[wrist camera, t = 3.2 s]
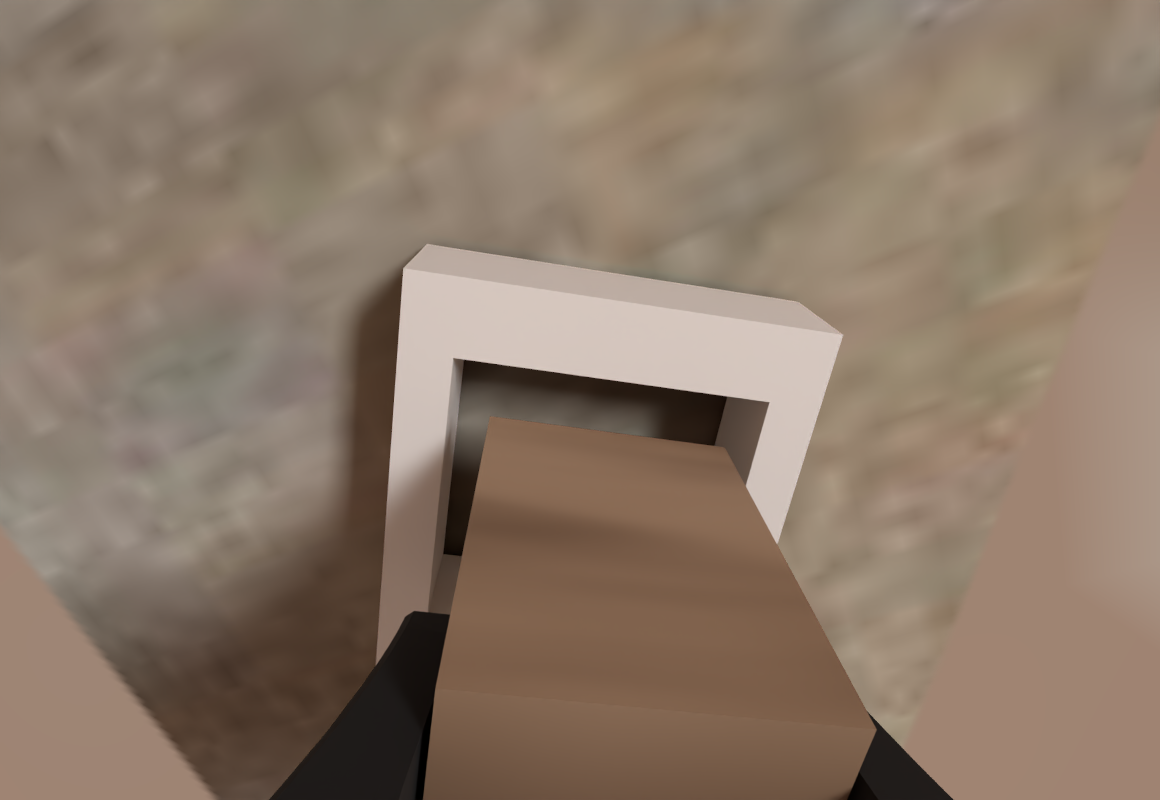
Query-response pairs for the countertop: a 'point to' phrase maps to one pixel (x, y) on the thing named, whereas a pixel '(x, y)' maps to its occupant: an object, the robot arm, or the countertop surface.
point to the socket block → (593, 349)
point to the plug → (632, 635)
